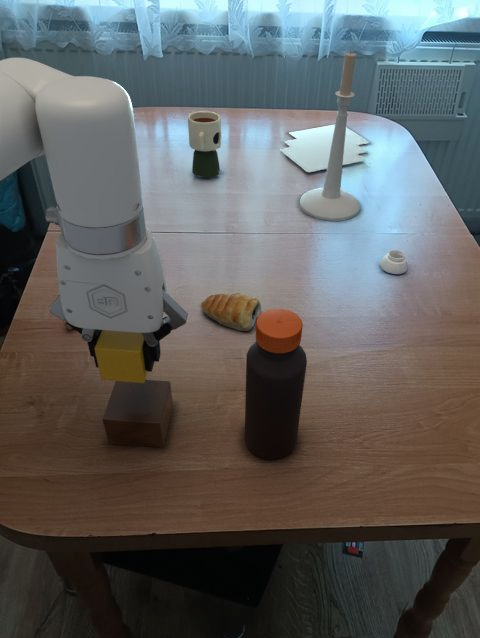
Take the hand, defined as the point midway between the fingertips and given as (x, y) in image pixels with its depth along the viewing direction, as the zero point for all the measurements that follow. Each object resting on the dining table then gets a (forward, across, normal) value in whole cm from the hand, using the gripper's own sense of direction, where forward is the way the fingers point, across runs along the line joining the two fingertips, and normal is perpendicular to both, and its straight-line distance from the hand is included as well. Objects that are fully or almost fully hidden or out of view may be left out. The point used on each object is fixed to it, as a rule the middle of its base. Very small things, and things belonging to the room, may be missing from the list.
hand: (126, 360), depth 63 cm
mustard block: (+1, 0, 0) cm, 1 cm away
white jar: (+12, +39, +40) cm, 57 cm away
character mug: (+12, 0, +73) cm, 74 cm away
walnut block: (+12, +1, 0) cm, 12 cm away
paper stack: (+12, +28, +92) cm, 97 cm away
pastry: (+12, +11, +23) cm, 28 cm away
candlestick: (+12, +28, +62) cm, 69 cm away
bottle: (+12, +18, -1) cm, 21 cm away
